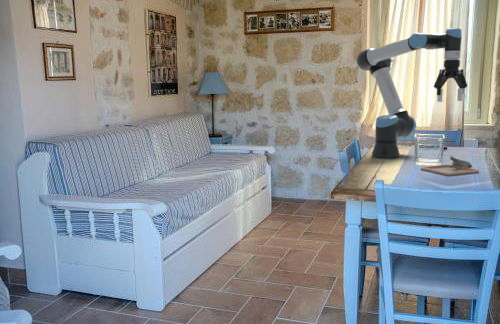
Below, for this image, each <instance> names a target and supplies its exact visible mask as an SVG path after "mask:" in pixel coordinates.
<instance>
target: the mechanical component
mask: <svg viewBox="0 0 500 324" xmlns="http://www.w3.org/2000/svg"><path fill="white" fill-rule="evenodd" d="M449 157H450V158H449V160H451V161H452V163H451V164H452V165H457V166H462V167H467V168H472V169H473V165H472V163H471V162H469V161H466V160H462V159H459V158H455V157H454V156H449Z"/></svg>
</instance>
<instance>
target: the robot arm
mask: <svg viewBox="0 0 500 324" xmlns="http://www.w3.org/2000/svg"><path fill="white" fill-rule="evenodd" d="M462 38H463V37H462V29H461V28H459V27H458V28H457V27H456V28H455V27H453V28H452V27H451V28H447V29H446V30H445V32H444V33H428V32H427V33H424V32H414V33H412V34H411V35H410V36H409V37H406V38H403V39H400V40H397V41H393V42H391V43H388V44H385V45H382V46H379V47H377V48H374V47H373V48H372V47H371V48H368V49H365V50H362V51H360V52H359V53H358V54H357V57H356V65H357V66H358V68H359V69H361V70H363V71H366V72H367V71H369V72H370V75H371V77H372V78H375V79H374V80H376V84H377V86H378V89H379V92H380V94H381V97H382V100H383V103H384V105H385V108H386V110H387V113H388V114H386V115H385V114H384V115H380V116H378V117H376V119H375V134H374V135H375V141H374V146H373V150H372V152H371V157H372V158H373V159H381V160H396V159H399V158H400V156H401V155H400V150H399V147H398V138H405V137H408V136H411V135H413V134H414V132H415V131H416V127H417V122H416V120H415V118H414V117H413V116H411V115H409V112H408V110H407V109H404V107H403V104H402V101H401V99H400V95H399V93H398V91H397V88H396V86H395V83H394V81H393V78H392V76H391V73H390V72H391V69H392V68H391V65H392V63H393V62H392V59H393V58H395V57H399V56H403V55H406V54H408V53H410V52H414V51H417V50H421V49H425V50H437V49H438V50H439V49H444V58H443V59H444V61H443V68H440V69H439V72H438V75H437V77H436V80H435V82H434V85H433V88H435V90H436V96H437V97H436V98H437V100H436V102H437V103H441V102H443V93H444V88H443V87H444V85H445V84H446V83H447V82H448V80H449V79H453V80H454V82H456V85H457V86H458V88H457V100H456V101H457V102H463V96H464V91H465V90H464V89H466V88H467V87H468V83H467V80H466V77H465V73H464V69H463V68H460V66H461V60H460V59H461V46H462ZM459 68H460V69H459Z"/></svg>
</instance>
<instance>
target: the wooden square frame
mask: <svg viewBox="0 0 500 324" xmlns="http://www.w3.org/2000/svg"><path fill="white" fill-rule="evenodd" d="M421 169H422V170H421ZM420 170H421V171H424V170H425V171H426V172H429V173H434V174H438V175H442V176H446V177H447V176H448V177H451V176H458V175H459V176H460V175H469V174H479V171H480V170H479V169H477V168H473V167H472V168H467V167H462V166H457V165H453V164H452V163H451V164H450V163H448V164H447V163H446V164H437V165H428V166H427V165H425V166H420Z"/></svg>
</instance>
